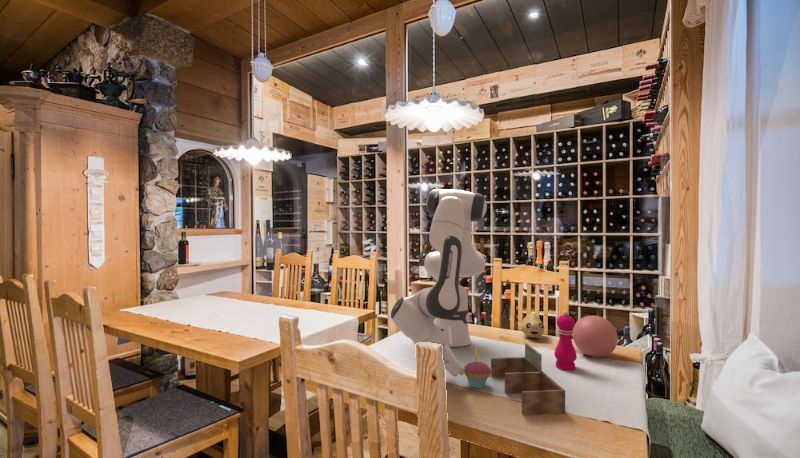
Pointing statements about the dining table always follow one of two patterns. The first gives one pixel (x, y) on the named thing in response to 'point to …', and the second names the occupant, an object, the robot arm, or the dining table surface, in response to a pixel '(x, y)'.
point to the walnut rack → (530, 382)
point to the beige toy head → (532, 326)
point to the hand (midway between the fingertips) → (462, 372)
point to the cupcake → (477, 373)
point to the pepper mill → (565, 343)
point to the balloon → (595, 336)
